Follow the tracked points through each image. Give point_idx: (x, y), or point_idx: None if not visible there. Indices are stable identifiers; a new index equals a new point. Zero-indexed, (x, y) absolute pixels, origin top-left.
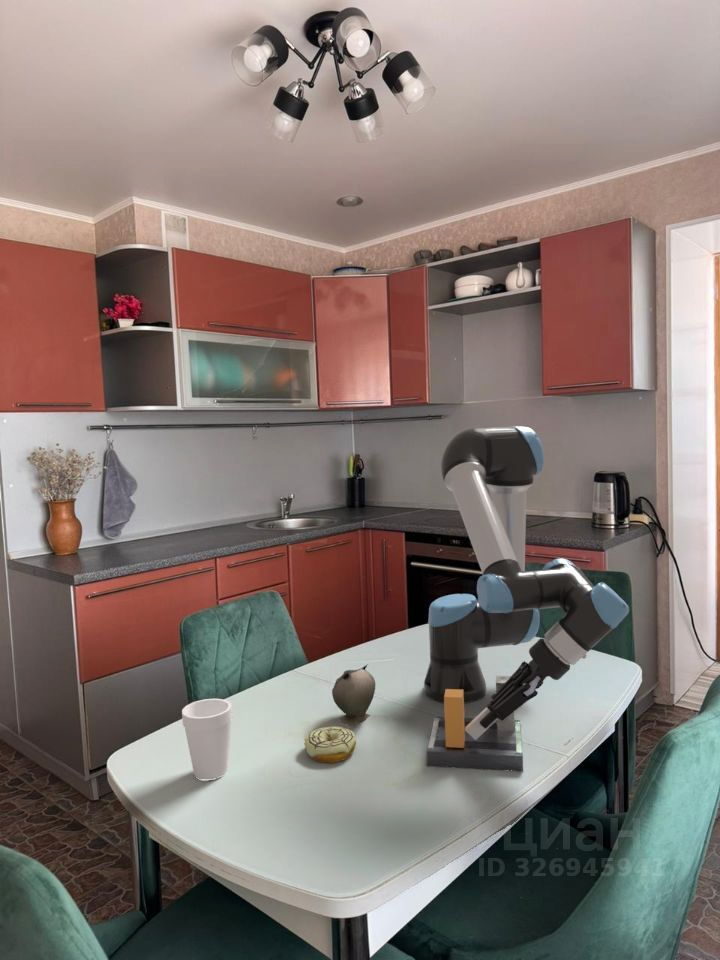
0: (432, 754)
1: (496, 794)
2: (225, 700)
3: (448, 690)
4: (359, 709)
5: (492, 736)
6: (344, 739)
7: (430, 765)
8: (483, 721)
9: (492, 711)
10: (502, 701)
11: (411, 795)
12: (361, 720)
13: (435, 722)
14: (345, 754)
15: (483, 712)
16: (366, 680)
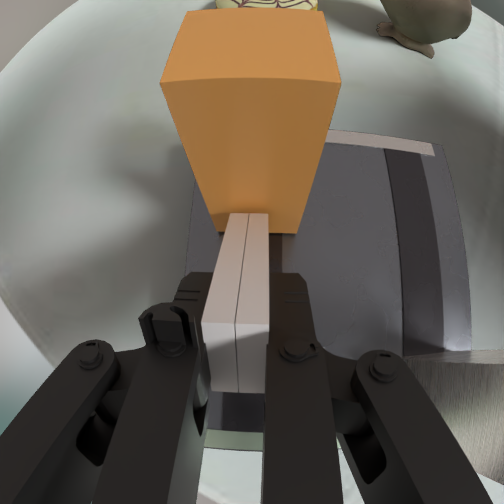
0: None
1: (71, 334)
2: None
3: (298, 17)
4: (395, 17)
5: (339, 342)
6: (252, 1)
7: None
8: (179, 291)
9: (87, 343)
10: (48, 440)
11: (85, 144)
12: (400, 42)
13: (403, 142)
14: None
15: (220, 286)
16: None
